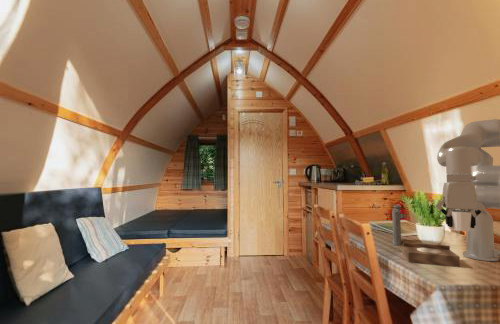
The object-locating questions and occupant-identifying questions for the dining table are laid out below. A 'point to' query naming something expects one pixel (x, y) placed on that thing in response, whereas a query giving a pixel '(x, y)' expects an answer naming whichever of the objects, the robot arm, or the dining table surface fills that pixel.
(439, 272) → the dining table surface
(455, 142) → the robot arm
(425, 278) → the dining table surface
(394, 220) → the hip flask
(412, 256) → the rack
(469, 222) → the white cup
